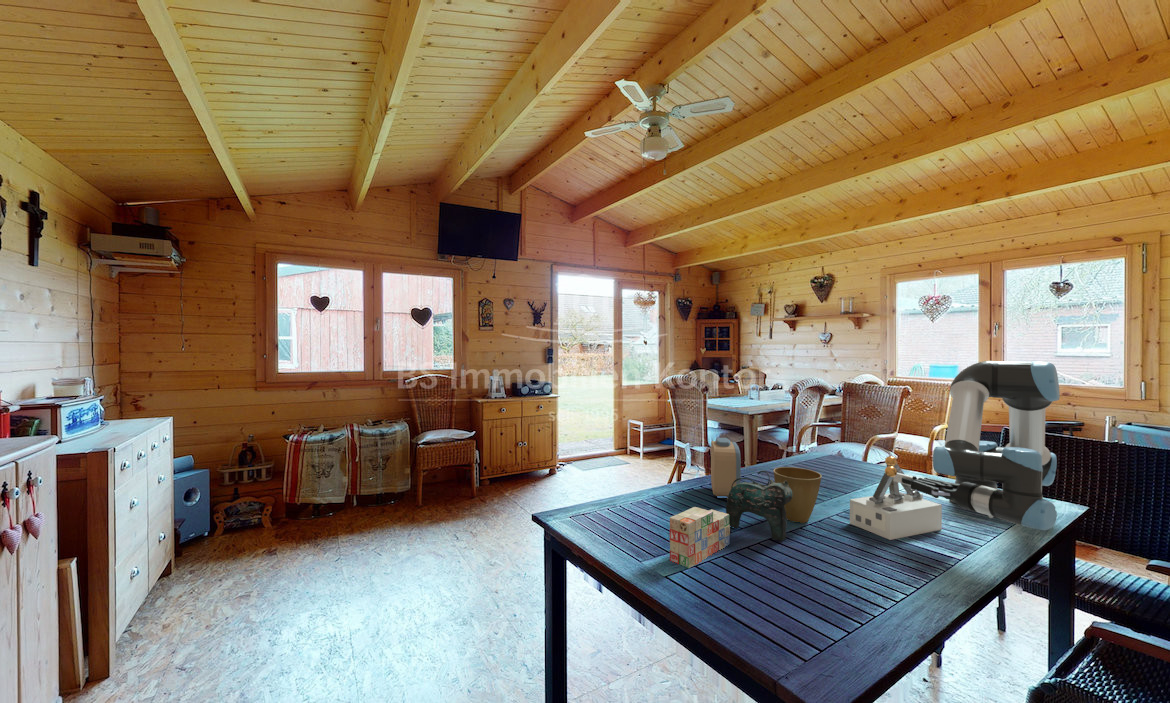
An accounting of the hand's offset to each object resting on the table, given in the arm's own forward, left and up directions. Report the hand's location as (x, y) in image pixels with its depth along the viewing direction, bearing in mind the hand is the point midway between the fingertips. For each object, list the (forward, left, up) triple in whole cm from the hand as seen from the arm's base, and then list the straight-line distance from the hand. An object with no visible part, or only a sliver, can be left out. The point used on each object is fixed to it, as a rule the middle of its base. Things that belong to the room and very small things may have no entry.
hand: (894, 476), depth 151 cm
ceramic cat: (+45, -11, -17) cm, 50 cm away
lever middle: (-1, 0, -8) cm, 8 cm away
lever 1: (+8, -1, -8) cm, 11 cm away
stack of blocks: (+70, -6, -17) cm, 72 cm away
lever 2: (-9, 0, -8) cm, 12 cm away
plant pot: (+24, -16, -17) cm, 34 cm away
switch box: (-1, 0, -16) cm, 16 cm away
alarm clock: (+30, -47, -17) cm, 59 cm away
